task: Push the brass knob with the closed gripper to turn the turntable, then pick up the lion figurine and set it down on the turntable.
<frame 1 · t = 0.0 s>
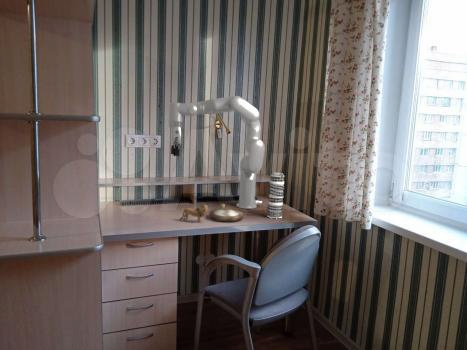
hand: (174, 155, 210), 31 cm above the table, tool pointing down, fingers open, 9 cm apart
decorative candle: (274, 217, 207), on the table
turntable: (226, 212, 199), point 3 cm above the table, hinge at 0.0°
lion figurine: (194, 221, 190), on the table
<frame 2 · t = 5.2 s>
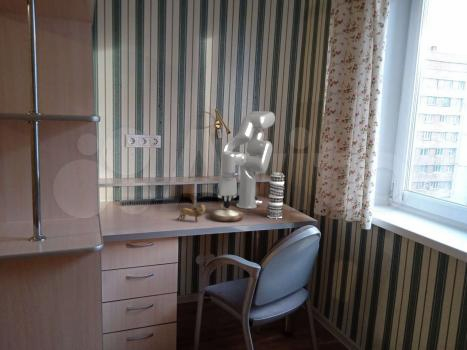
hand: (226, 207, 206), 4 cm above the table, tool pointing down, fingers closed
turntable: (226, 212, 199), point 3 cm above the table, hinge at 5.6°, touching gripper
lion figurine: (191, 221, 191), on the table
everything else where it was.
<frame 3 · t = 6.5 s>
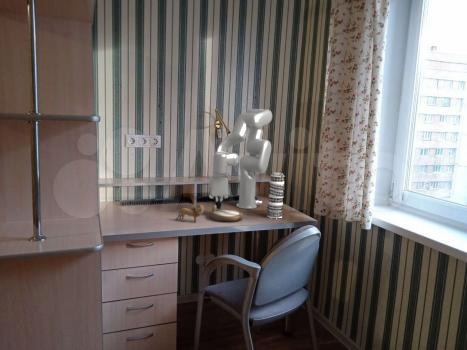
hand: (218, 208, 204), 4 cm above the table, tool pointing down, fingers closed
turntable: (226, 212, 199), point 3 cm above the table, hinge at 45.2°, touching gripper
everything else where it was.
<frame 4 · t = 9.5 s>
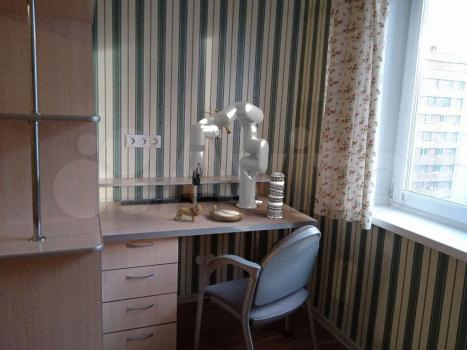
hand: (196, 184, 187), 19 cm above the table, tool pointing down, fingers open, 3 cm apart
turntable: (226, 212, 199), point 3 cm above the table, hinge at 45.2°
lion figurine: (188, 221, 190), on the table
everything else where it was.
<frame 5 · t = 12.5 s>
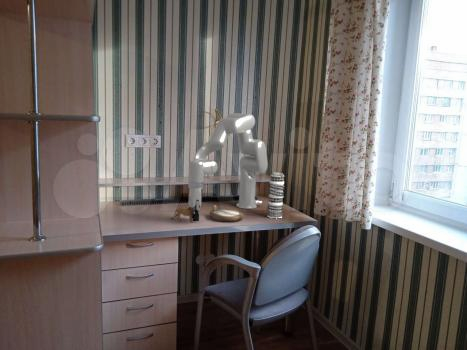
hand: (194, 219, 190), 1 cm above the table, tool pointing down, fingers closed on lion figurine, 4 cm apart
lion figurine: (186, 221, 190), on the table, touching gripper
everything else where it was.
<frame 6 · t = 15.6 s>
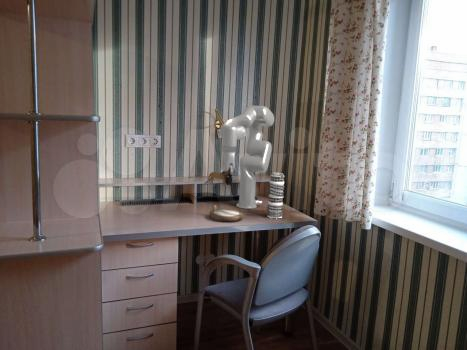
hand: (227, 183, 197), 19 cm above the table, tool pointing down, fingers closed on lion figurine, 4 cm apart
lion figurine: (219, 185, 197), point 18 cm above the table, touching gripper
everything else where it was.
when the fingers open (5 cm above the table, at t = 18.7 s): lion figurine drops 1 cm, resting on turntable.
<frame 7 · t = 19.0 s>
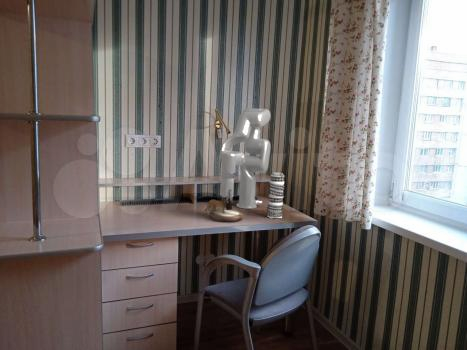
hand: (226, 207, 199), 6 cm above the table, tool pointing down, fingers open, 8 cm apart
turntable: (226, 212, 199), point 3 cm above the table, hinge at 45.2°, touching lion figurine
lion figurine: (218, 212, 200), point 3 cm above the table, touching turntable
everything else where it was.
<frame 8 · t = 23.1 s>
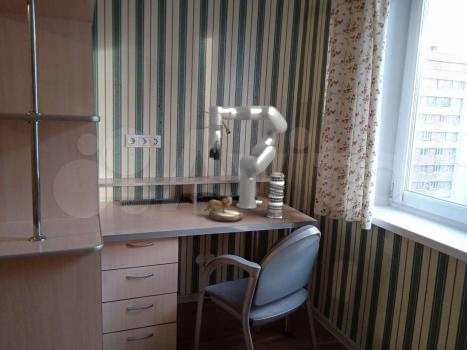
hand: (214, 158, 209), 30 cm above the table, tool pointing down, fingers open, 9 cm apart
nothing on the table moved.
at the end: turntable at +45° (first picture: +0°); lion figurine 4.1 cm from the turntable (horizontally); lion figurine tilted 0° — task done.
